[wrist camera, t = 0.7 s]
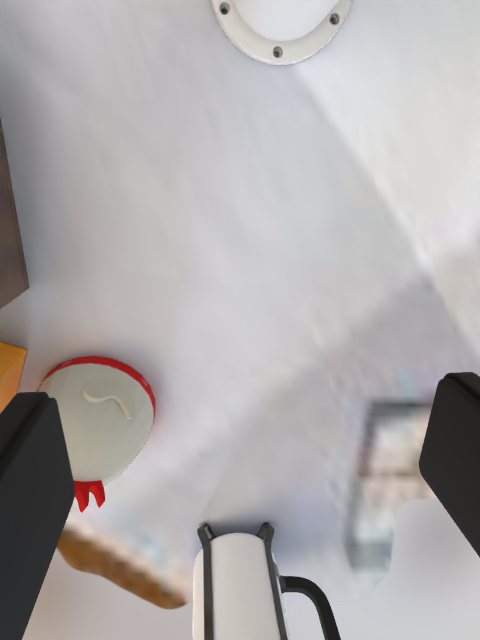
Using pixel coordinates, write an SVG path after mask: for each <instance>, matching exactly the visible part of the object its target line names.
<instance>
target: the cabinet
mask: <svg viewBox="0 0 480 640" xmlns="http://www.w3.org/2000/svg"><path fill="white" fill-rule="evenodd" d="M28 288H29V284H28V278H27V272H26V266H25V261H24V255H23V249H22V243H21V237H20V231H19V225H18V220H17V214H16V208H15V202H14V196H13V190H12V184H11V179H10V173H9V167H8V161H7V155H6V149H5V143H4V138H3V132H2V126H1V120H0V309H1V308H2V307H4V306H5V305H6V304H8V303H9V302H11V301H12V300H13V299H15V298H16V297H17V296H19V295H20V294H22V293H23V292H24V291H25V290H27V289H28Z"/></svg>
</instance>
